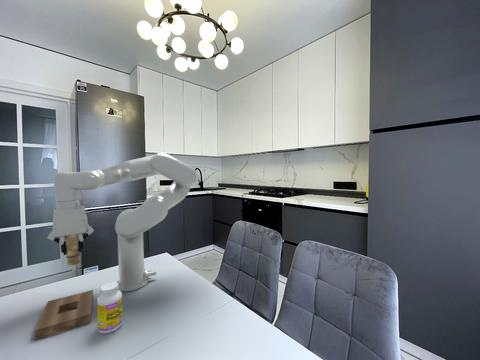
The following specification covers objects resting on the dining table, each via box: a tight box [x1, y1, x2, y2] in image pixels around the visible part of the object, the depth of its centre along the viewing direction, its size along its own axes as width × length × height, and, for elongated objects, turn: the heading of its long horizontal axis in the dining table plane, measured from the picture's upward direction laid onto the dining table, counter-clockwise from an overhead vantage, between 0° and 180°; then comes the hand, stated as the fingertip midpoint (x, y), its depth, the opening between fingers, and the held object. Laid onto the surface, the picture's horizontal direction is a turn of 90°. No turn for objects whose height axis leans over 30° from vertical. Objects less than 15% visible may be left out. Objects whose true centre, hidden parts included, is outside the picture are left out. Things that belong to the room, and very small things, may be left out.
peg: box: [65, 234, 81, 267], centre depth 82 cm, size 4×4×12 cm
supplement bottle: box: [96, 281, 124, 334], centre depth 66 cm, size 7×7×13 cm
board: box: [33, 289, 95, 341], centre depth 71 cm, size 13×16×3 cm
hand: (73, 251), depth 82 cm, fingers closed on peg, 4 cm apart
